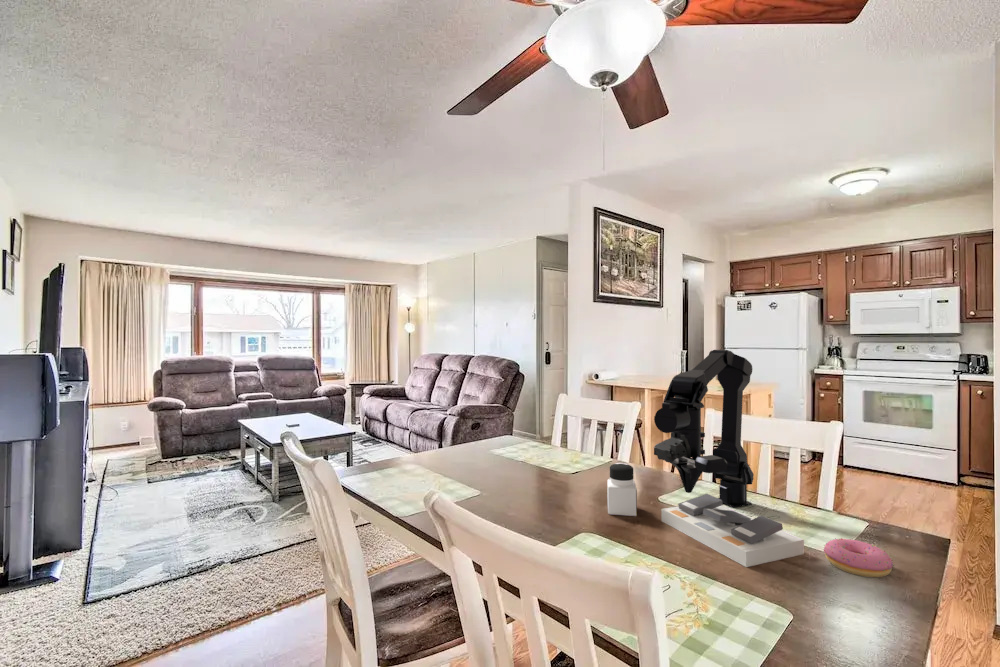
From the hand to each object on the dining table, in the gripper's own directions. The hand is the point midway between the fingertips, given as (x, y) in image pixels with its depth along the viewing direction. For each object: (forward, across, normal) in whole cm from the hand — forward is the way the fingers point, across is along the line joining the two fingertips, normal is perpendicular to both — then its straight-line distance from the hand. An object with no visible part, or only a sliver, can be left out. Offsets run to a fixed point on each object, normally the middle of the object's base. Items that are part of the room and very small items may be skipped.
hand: (688, 492), depth 114 cm
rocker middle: (+3, +8, +4) cm, 9 cm away
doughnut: (+8, +28, +17) cm, 34 cm away
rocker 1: (+3, 0, +4) cm, 5 cm away
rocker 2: (+3, +16, +4) cm, 17 cm away
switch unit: (+8, +8, +4) cm, 12 cm away
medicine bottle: (+8, -14, -9) cm, 19 cm away
